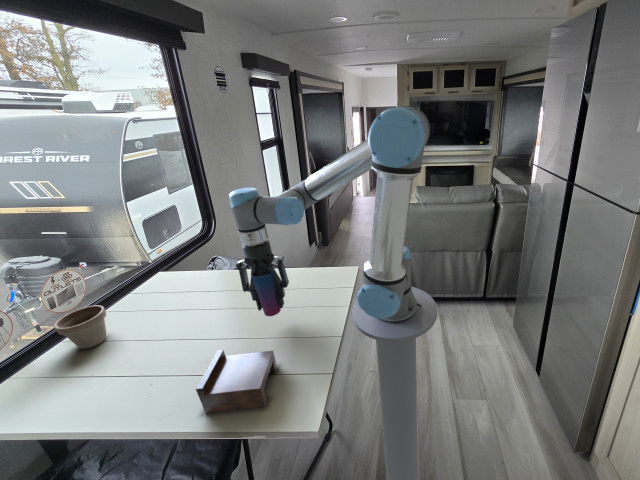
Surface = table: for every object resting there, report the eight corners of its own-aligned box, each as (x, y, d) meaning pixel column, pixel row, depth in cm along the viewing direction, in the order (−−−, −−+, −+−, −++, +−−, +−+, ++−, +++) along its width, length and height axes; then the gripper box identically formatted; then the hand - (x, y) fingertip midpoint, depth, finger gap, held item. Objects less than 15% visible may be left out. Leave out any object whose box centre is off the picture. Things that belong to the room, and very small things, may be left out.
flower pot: (72, 339, 99) (57, 314, 95) (117, 324, 105) (105, 300, 102) (65, 361, 91) (49, 334, 87) (114, 343, 97) (101, 317, 93)
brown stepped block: (277, 367, 86) (271, 344, 82) (265, 406, 75) (258, 382, 71) (225, 372, 84) (217, 350, 81) (205, 413, 73) (195, 389, 70)
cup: (285, 313, 98) (276, 272, 93) (263, 321, 95) (252, 279, 89) (280, 302, 104) (271, 263, 98) (259, 310, 101) (249, 270, 95)
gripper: (216, 250, 86) (236, 317, 95) (285, 243, 87) (299, 310, 96) (226, 239, 93) (245, 302, 101) (290, 233, 94) (303, 296, 103)
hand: (271, 306), depth 99 cm, fingers closed on cup, 6 cm apart
